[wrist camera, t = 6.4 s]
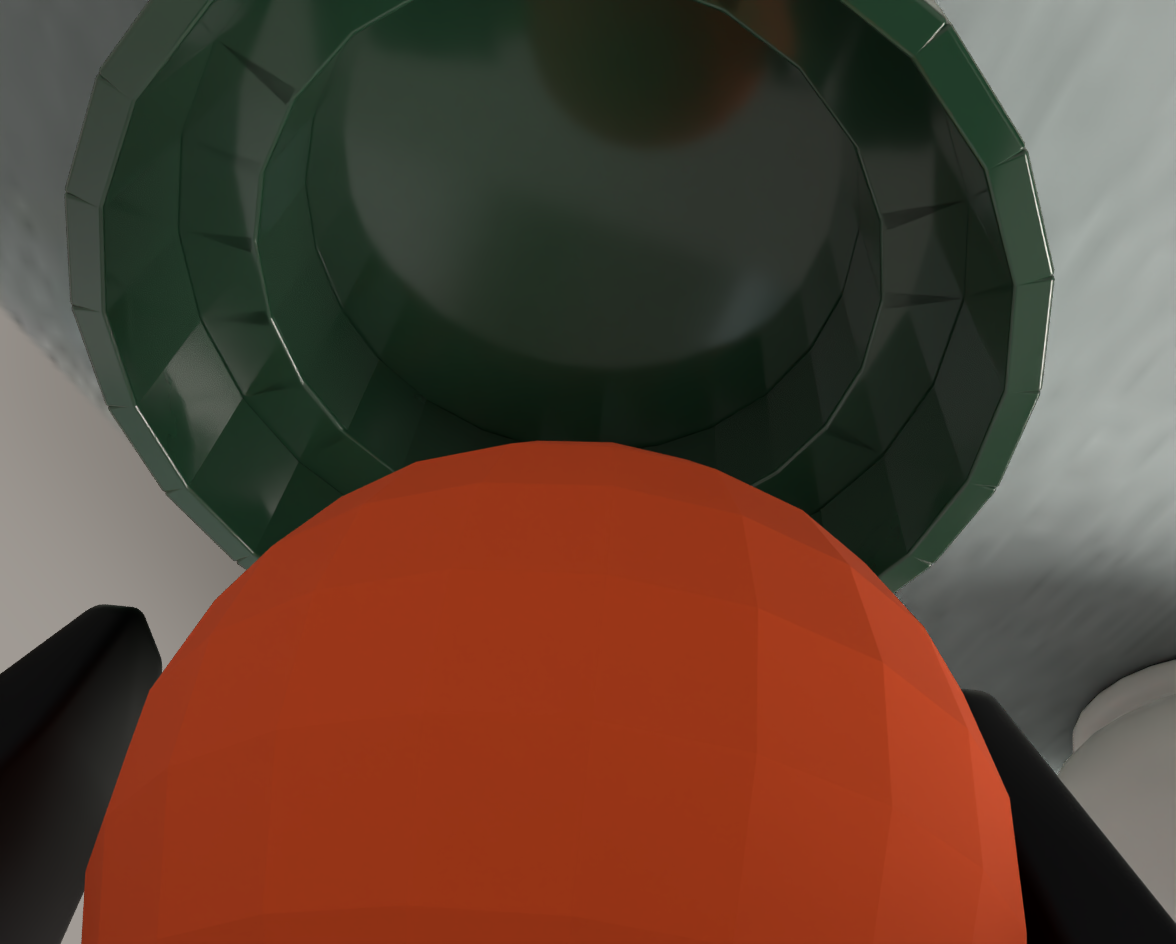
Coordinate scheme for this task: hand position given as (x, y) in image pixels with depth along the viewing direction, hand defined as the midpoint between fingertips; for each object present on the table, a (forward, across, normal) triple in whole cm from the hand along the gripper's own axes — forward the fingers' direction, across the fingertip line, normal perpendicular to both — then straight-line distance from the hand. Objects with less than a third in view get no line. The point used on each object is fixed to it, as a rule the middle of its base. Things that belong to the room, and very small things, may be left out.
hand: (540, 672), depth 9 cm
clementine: (+2, 0, 0) cm, 2 cm away
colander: (+11, 0, 0) cm, 11 cm away
